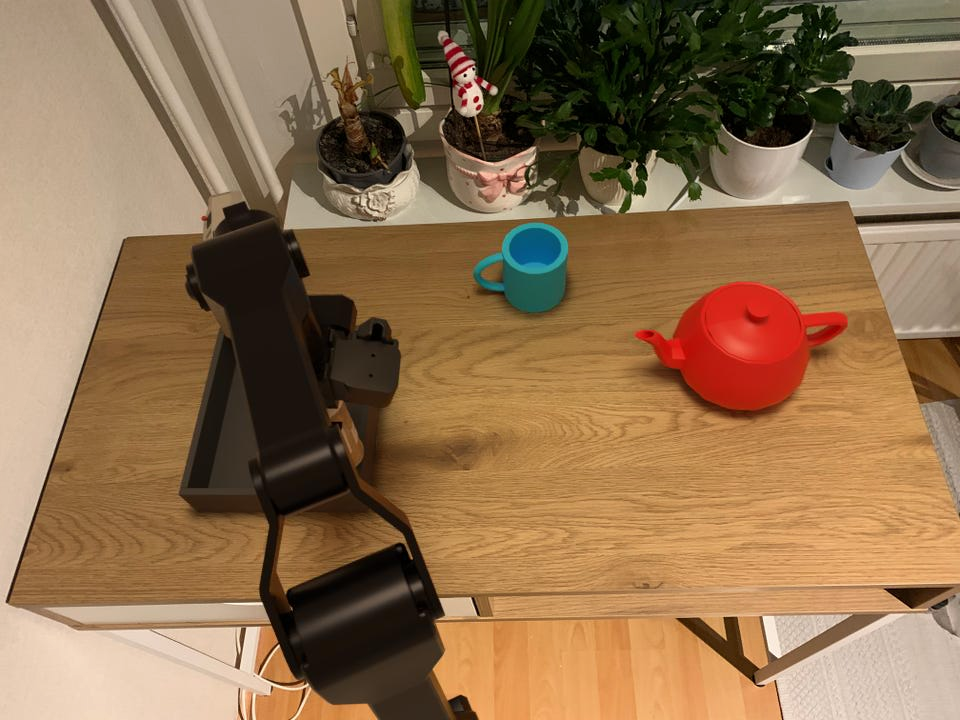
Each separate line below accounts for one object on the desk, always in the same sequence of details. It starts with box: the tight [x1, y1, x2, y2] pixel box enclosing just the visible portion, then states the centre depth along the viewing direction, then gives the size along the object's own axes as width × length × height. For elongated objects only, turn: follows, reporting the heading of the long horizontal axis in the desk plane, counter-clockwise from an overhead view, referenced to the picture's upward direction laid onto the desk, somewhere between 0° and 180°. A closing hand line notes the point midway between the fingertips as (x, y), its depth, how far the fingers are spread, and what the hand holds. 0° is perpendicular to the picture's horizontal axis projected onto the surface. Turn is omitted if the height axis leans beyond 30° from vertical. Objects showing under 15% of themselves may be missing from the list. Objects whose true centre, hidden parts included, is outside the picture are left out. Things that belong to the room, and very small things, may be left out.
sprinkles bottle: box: [327, 401, 364, 467], centre depth 72 cm, size 5×5×13 cm
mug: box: [472, 222, 569, 313], centre depth 93 cm, size 12×8×8 cm
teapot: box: [633, 281, 849, 411], centre depth 83 cm, size 25×16×12 cm, turn 96°
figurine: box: [201, 190, 244, 241], centre depth 92 cm, size 9×12×15 cm
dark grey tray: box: [178, 324, 380, 513], centre depth 85 cm, size 22×20×6 cm
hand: (331, 426), depth 72 cm, fingers closed on sprinkles bottle, 4 cm apart
